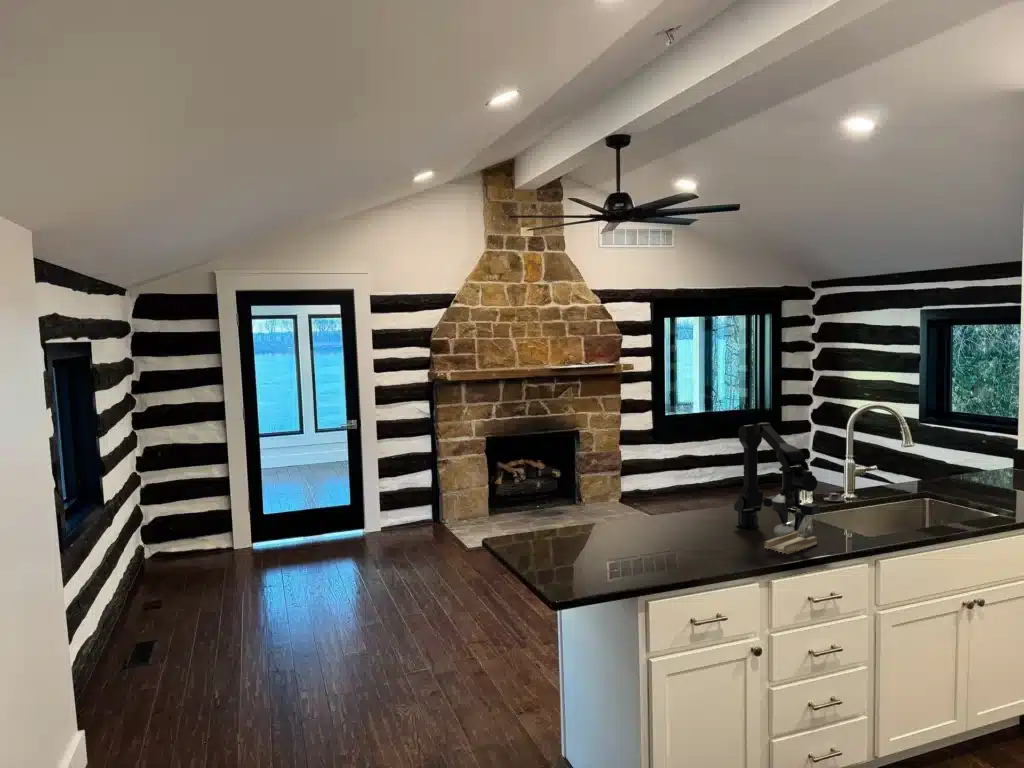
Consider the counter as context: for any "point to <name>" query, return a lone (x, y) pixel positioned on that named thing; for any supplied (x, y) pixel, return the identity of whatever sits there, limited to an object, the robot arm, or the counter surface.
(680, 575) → the counter surface
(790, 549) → the cradle
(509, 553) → the counter surface
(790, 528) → the axle
